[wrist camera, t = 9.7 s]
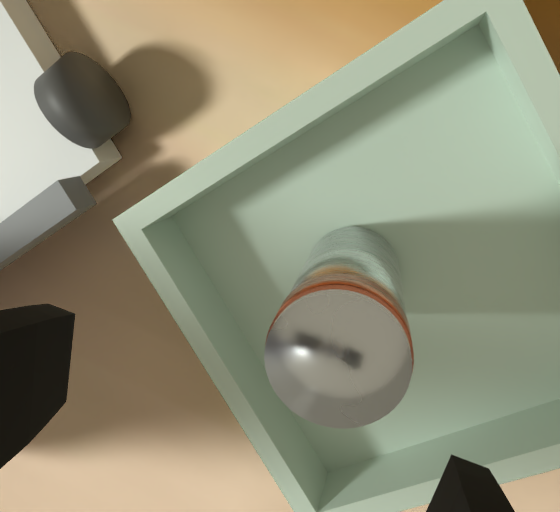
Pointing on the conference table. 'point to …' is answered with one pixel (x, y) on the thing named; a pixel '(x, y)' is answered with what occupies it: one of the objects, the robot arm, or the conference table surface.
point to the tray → (406, 243)
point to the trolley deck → (49, 131)
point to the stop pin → (343, 333)
